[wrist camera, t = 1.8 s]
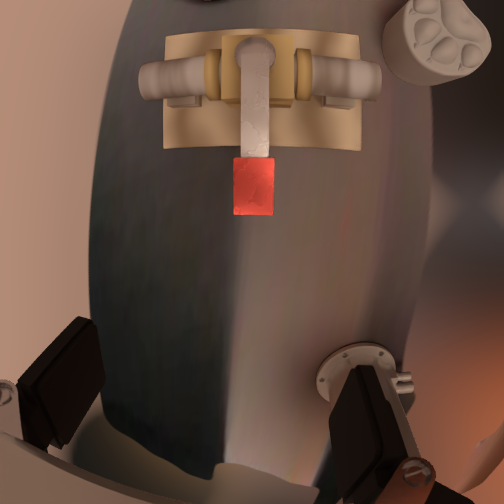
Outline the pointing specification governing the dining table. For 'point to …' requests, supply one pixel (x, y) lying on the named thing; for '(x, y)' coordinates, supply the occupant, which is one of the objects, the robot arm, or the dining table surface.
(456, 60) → the lumpy-topped squat cylinder
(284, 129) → the valve bench
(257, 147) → the valve lever
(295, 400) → the dining table surface
